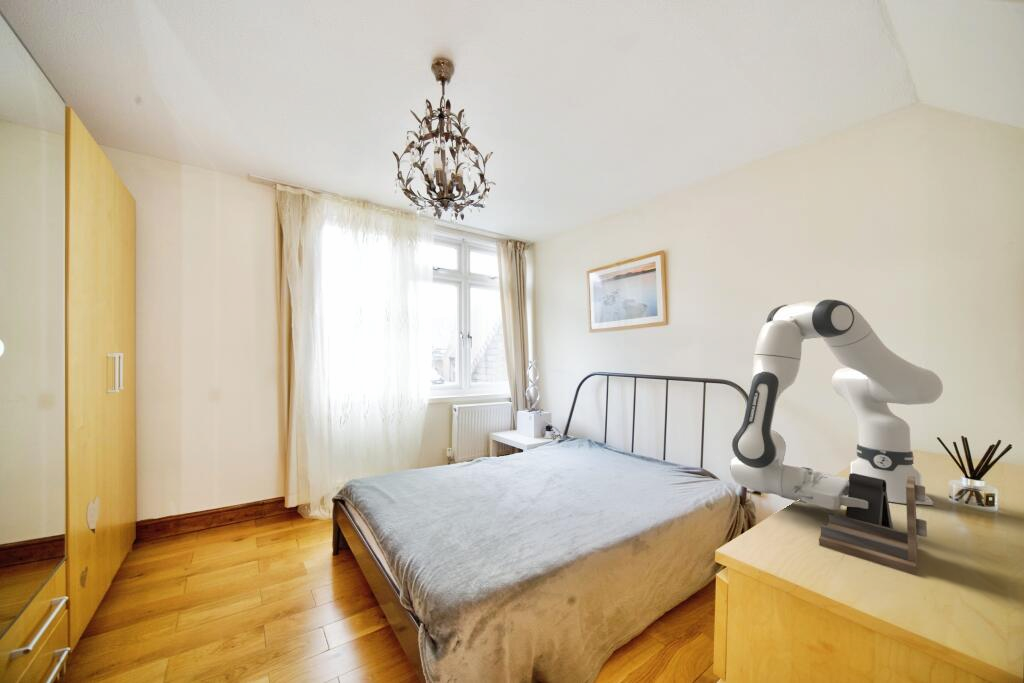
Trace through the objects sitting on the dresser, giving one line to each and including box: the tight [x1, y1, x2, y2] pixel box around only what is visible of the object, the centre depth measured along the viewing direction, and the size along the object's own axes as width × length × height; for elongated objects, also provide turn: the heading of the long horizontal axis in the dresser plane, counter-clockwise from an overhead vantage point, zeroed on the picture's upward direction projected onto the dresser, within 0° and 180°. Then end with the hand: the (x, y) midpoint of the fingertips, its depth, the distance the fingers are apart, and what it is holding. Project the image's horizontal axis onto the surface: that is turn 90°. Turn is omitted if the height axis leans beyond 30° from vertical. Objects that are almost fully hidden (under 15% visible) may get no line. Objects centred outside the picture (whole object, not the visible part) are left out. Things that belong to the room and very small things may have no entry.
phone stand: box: [845, 472, 894, 529], centre depth 88 cm, size 9×6×12 cm, turn 118°
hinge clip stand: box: [818, 476, 928, 576], centre depth 77 cm, size 15×15×16 cm
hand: (870, 499), depth 88 cm, fingers open, 8 cm apart
